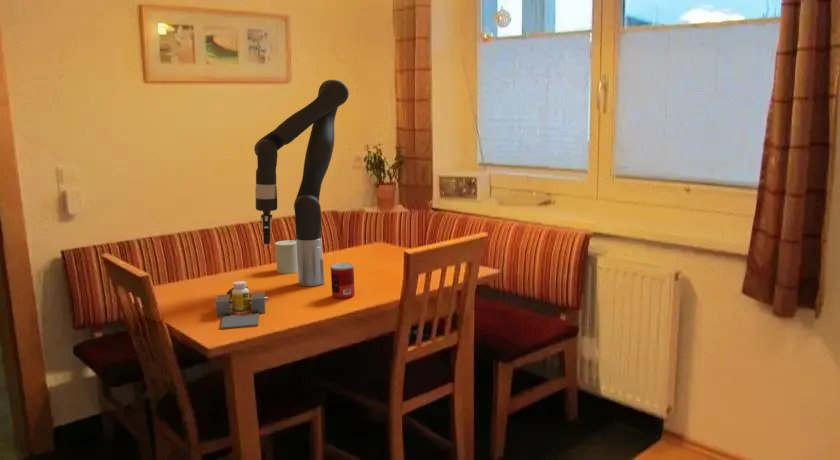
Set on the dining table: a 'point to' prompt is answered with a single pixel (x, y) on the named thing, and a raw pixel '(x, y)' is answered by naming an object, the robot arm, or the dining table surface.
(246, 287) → the brown rock
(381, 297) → the dining table surface
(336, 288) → the canned food
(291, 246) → the can
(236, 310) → the supplement bottle
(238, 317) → the coaster
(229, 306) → the vise
